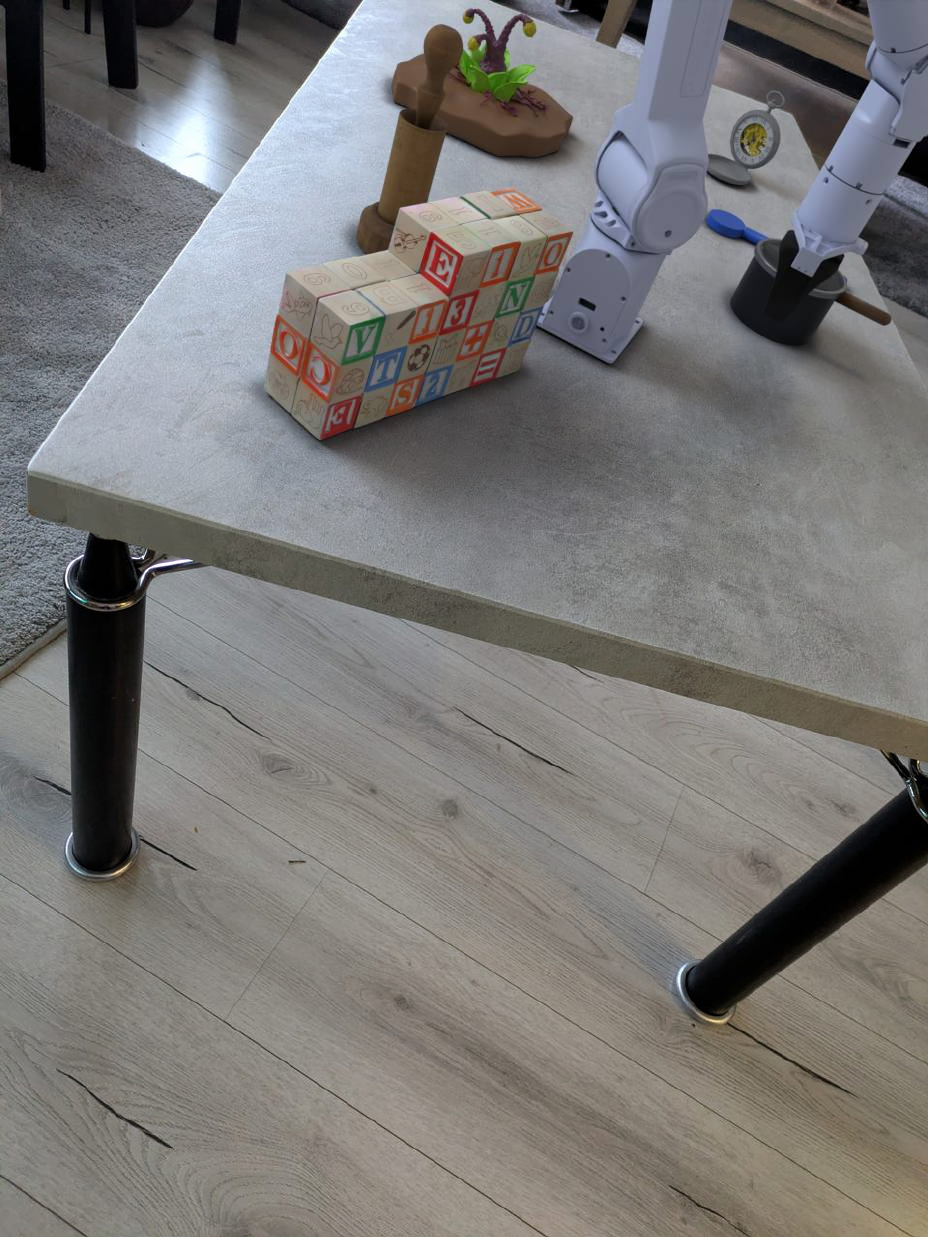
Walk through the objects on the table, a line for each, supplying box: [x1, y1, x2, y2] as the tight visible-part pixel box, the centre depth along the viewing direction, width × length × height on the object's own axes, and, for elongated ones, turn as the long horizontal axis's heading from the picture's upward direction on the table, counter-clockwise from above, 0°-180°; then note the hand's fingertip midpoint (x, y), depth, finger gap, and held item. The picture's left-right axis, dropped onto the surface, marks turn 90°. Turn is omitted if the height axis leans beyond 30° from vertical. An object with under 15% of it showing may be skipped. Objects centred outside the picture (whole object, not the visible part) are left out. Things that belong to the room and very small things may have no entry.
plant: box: [390, 8, 574, 158], centre depth 110 cm, size 20×20×11 cm
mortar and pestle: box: [355, 23, 464, 255], centre depth 80 cm, size 7×6×18 cm
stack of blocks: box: [263, 187, 574, 441], centre depth 69 cm, size 21×6×12 cm, turn 136°
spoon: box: [705, 208, 848, 283], centre depth 111 cm, size 17×4×1 cm, turn 64°
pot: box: [729, 237, 893, 346], centre depth 98 cm, size 10×15×6 cm, turn 65°
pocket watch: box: [706, 90, 786, 186], centre depth 121 cm, size 8×8×10 cm
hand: (773, 315), depth 94 cm, fingers closed
